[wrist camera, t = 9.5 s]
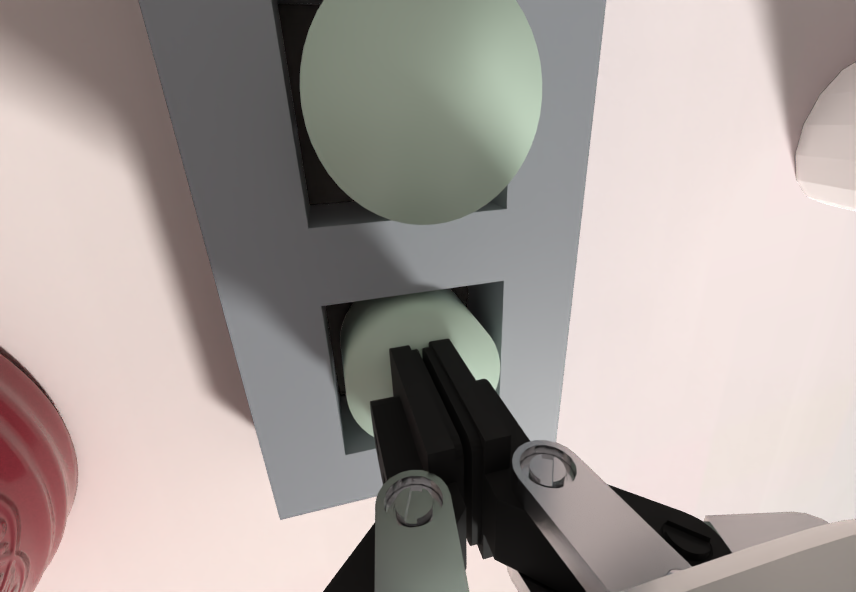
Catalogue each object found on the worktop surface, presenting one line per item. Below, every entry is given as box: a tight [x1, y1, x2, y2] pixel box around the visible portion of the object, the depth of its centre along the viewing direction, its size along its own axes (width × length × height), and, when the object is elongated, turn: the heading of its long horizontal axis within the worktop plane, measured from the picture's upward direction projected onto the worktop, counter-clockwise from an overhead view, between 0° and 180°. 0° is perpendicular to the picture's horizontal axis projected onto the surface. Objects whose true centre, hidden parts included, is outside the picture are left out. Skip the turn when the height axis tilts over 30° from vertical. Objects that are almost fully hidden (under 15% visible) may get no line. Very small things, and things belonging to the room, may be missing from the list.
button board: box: [138, 0, 606, 520], centre depth 9 cm, size 24×10×5 cm, turn 2°
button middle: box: [300, 0, 542, 225], centre depth 8 cm, size 4×4×3 cm
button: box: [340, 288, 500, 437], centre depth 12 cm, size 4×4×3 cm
